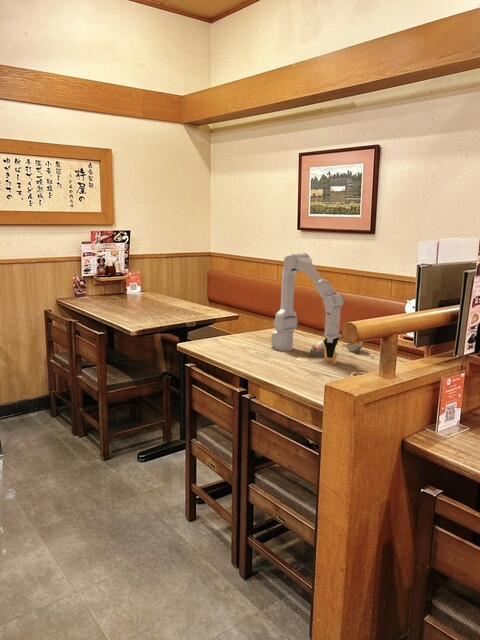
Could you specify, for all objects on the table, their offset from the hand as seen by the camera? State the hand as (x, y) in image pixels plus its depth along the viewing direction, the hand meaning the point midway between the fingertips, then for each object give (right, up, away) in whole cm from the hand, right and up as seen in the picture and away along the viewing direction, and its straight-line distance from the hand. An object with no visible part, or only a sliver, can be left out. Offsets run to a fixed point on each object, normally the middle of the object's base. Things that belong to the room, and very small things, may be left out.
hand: (330, 356), depth 205 cm
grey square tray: (-2, 0, +12) cm, 12 cm away
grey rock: (+14, 0, +19) cm, 24 cm away
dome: (-2, +1, +12) cm, 12 cm away
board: (-3, -2, +8) cm, 9 cm away
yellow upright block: (0, -2, 0) cm, 2 cm away
